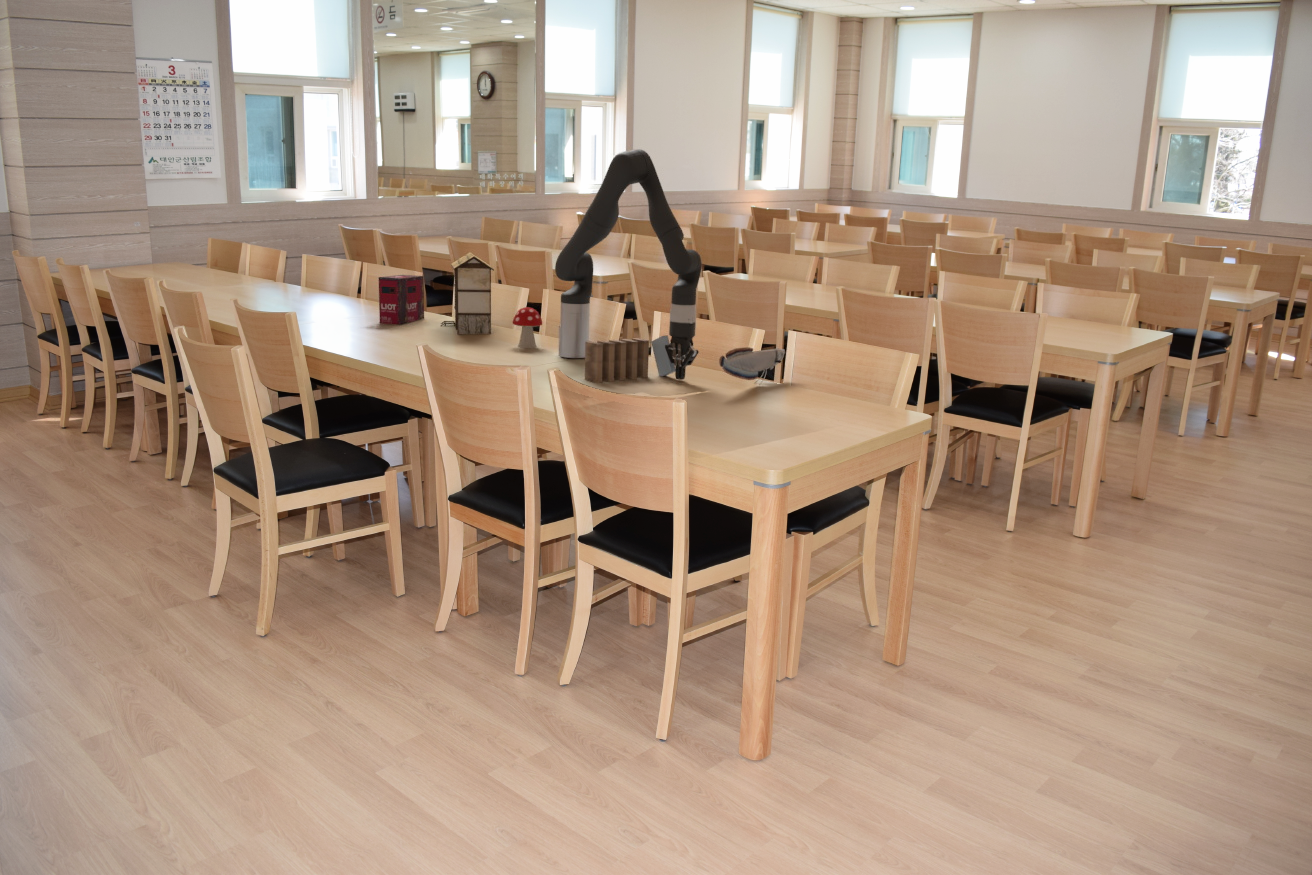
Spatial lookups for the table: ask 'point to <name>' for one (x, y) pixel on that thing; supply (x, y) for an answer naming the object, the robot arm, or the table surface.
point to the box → (401, 299)
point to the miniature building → (472, 295)
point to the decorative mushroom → (527, 326)
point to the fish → (750, 362)
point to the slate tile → (662, 356)
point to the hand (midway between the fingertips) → (680, 379)
